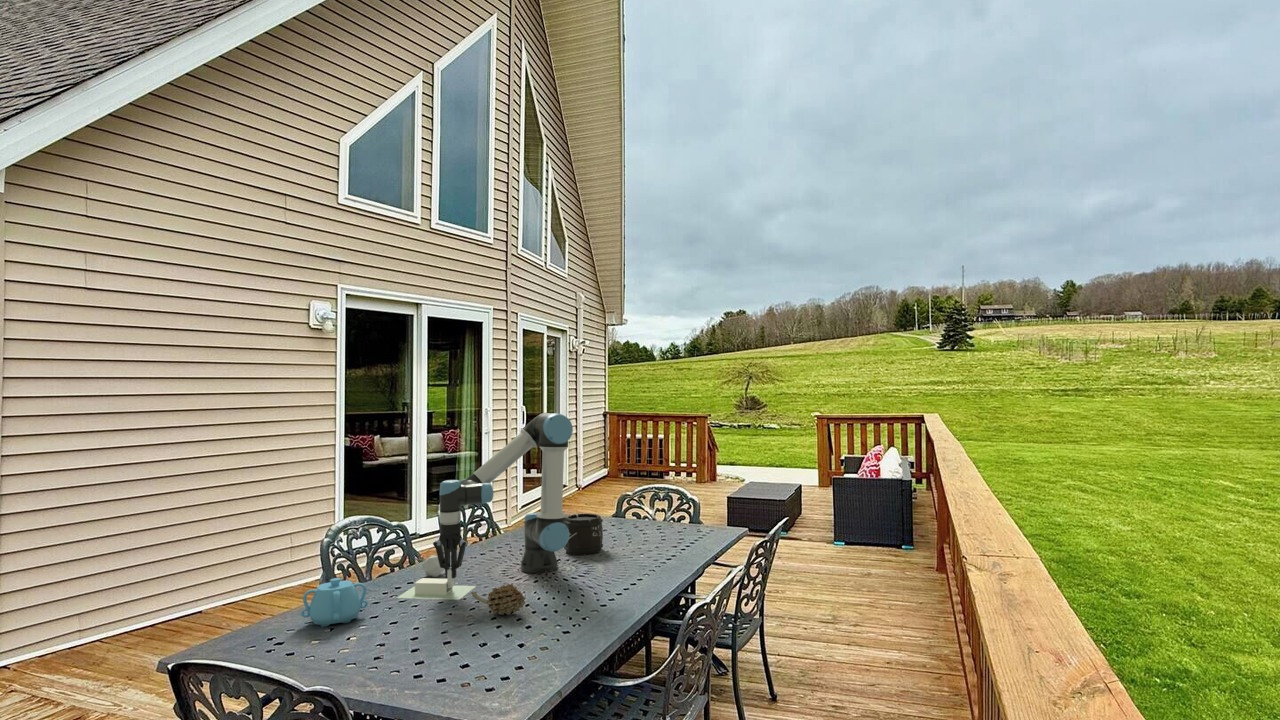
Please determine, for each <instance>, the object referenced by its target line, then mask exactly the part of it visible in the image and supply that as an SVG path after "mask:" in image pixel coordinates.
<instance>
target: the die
mask: <svg viewBox="0 0 1280 720" xmlns="http://www.w3.org/2000/svg"><path fill="white" fill-rule="evenodd" d="M421 565H422V568H423V571H424V573H425V575H426V577H431V576H432V577H433V578H434V577H435V578H437V577H439V576H440V575H441V574H442V573H443V572H444V571H445V569H444V568H440V565H439V561H438V556H437V555H433V554H431V555H429V557H427V559H426V560H425V561H424V562H423V563H422V564H421Z"/></svg>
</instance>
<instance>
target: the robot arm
mask: <svg viewBox="0 0 1280 720" xmlns="http://www.w3.org/2000/svg"><path fill="white" fill-rule="evenodd" d="M573 429H574V428H573V424H572V422H571V420H570V419H569V418H568V417H567V416H566V415H564V414H562V413H559V412H554V413H552V412H542V413H540V414H539V415H537V416H536V417H534V418H533V419H532V420H530V421H529V422H528V423H526V425H524V427H522V428H521V429H520V433H519V434H517V436H515V437H514V438H513V439H512V440H511V441H509V443H507V444H506V445H505V446H504V447H502V448H501V449H500V450H498V452H496V454H494V455H493V456H492V457H490V458H489V459H488V460H487V461H486V462H484V463H483V465H481V466H480V467H479V468H478V469H476V470H475V471H474V472H473V473H472V474H470V475H469V476H468V477H466V478H462V479H461V480H459V479H447V480H444V481H441V482H440V483H439V484H440V485H439V523H440V524H439V534H440V535H439V537H438V539H437V540H435V541H434V542H433V543H432V545H433V547H434V548H435V551H436V552H435V553H436V556H438V561H439V565H440V568H444V577H445V578H444V579H447V583H448V588H452V587H453V586H455V579H456V578H457V569H459V568H461V566H462V565H463V561H464V557H465V556H464V555H465V550H466V548H467V546H468V543H469V541H468V540H464V539H463V536H462V523H461V522H460V521H461V520H462V515H461V514H462V513H461V511H462V508H461V506H468V505H480V504H482V505H483V504H487V503H491V502H492V501H493V498H494V489H493V485H492V482H494V481H495V480H496V479H497V478H498V477H499V476H501V474H503V473H504V472H505V471H506V470H508V468H509V467H511V466H512V465H513V464H514V463H515V462H517V461H518V460H519V459H520V458H522V457H523V456H524V455H525V454H526V453H527V452H528V451H530V450H531V449H532V448H537V447H538V448H540V450H541V451H542V457H541V458H542V459H541V461H542V462H541V487H540V488H541V491H540V493H541V494H540V512H539V511H538V512H530V513H527V514H526V515H524V520H523V524H524V526H523V527H524V528H523V529H524V552H523V556H522V559H521V562H520V571H521V572H524V573H529V574H543V573H549V572H552V571H554V570H555V571H556V570H557V569H558V560H557V556H556V554H555V552H558V551H561V550H562V549H564V546H565V545H566V544H567V542H568V540H569V530H568V528H567V526H566V517H567V516H566V514H565V513H564V512H563V495H564V494H563V493H564V492H563V491H564V463H565V461H564V460H565V451H566V450H567V449H569V440H570V439H571V438H572V434H573V433H574V432H573V431H574V430H573ZM442 546H443V547H442ZM458 546H460V547H459V551H458ZM457 552H458V553H457Z"/></svg>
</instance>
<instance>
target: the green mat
mask: <svg viewBox="0 0 1280 720" xmlns="http://www.w3.org/2000/svg"><path fill="white" fill-rule="evenodd" d="M476 587H477V585H454V586H453V590H451V591H450V592H449V593H447V594H446V595H438V594H415V585H414V586H412V587H411V588H409V589H407V591H405V592H403V593H402V594H400V595H398V596H396V598H395V599H397V600H398V599H416V600H417V599H418V600H419V599H420V600H455V601H457V600H461V599H463V598H464V597H465V596H466V595H467V594H468V593H470V592H471V591H473V590H474V589H475V588H476Z"/></svg>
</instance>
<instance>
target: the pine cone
mask: <svg viewBox="0 0 1280 720" xmlns="http://www.w3.org/2000/svg"><path fill="white" fill-rule="evenodd" d="M471 595H472V597H473V598H474V599H476V600H477V601H479V602H481V603H483V604H486V605H487V606H488V609H490V612H491V613H492V614H493V615H495V614H499V615H502V616H503V615H505V614H506V615H508V616H509V615H510V614H512V612H513V613H517V612H519V611H520V609H521V608H522V609H523V607H524V606H525V604H526V601H525V599H526V596H524V595H523V592H522V591H521V590H519V589H518V588H517V586H514V585H513V584H510V583H507V584H506V585H505V584H503V585H501V586H500V587H495V588H494V589H492V591H491V592H489V593H488V596H487V599H485V598H483V597H481V596H479V595H478V594H477V593H476V592H475V591H472V592H471Z"/></svg>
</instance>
